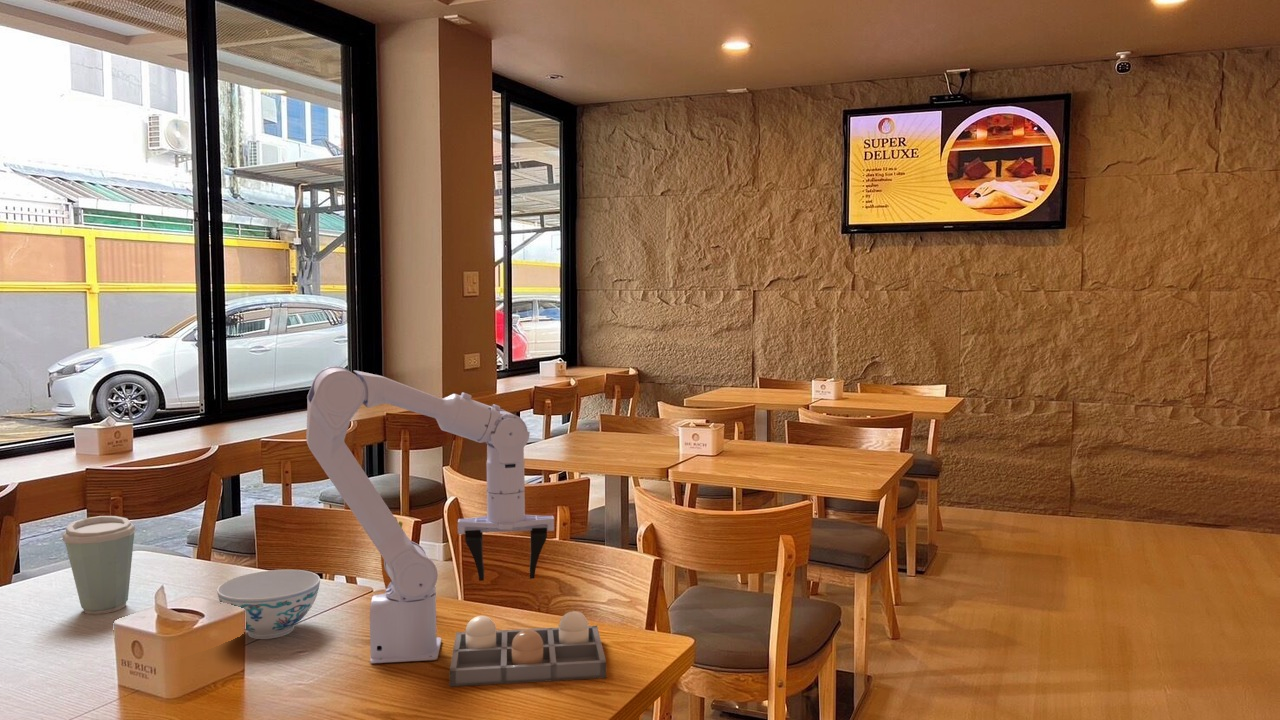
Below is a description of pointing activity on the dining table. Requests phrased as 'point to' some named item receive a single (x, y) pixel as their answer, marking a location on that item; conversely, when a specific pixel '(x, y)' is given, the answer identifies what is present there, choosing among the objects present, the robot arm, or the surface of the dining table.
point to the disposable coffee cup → (101, 561)
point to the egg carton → (490, 662)
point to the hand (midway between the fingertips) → (506, 577)
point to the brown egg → (527, 648)
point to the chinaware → (271, 599)
